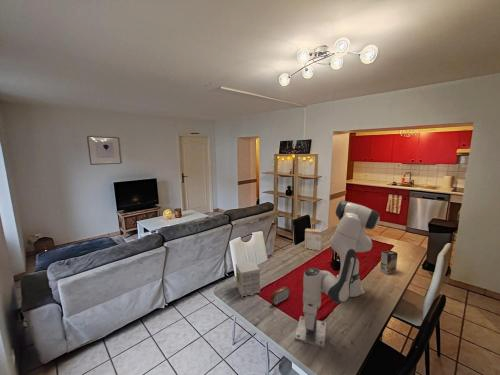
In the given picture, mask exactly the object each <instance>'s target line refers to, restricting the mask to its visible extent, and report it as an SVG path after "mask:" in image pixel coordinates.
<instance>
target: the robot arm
mask: <svg viewBox="0 0 500 375" xmlns="http://www.w3.org/2000/svg"><path fill="white" fill-rule="evenodd" d="M335 216H336V217H337V218H338V221H339V222H338V223H337V226H336V229H335V231H334V233H333V234H332V236H331V237H330V239H329V245H330V247H331V249H332V250H333V251H334V252H336V253H337V255H338V257H339V259H340V260H339V261H340V268H339V271H338V272H339V273H338V274H337V275H336V276H335V275H334V274H333V273H332V272H330V271H328V270H325V269H323V270H320V269H319V268H317V267H308V268H307V269H306V270H305V271H304V273H303V281H302V286H303V291H302V305H303V306H302V312H303V313H304V314H303V315H304V316H303V317H304V319H305V327H306V328H307V329H310V330H313V328H314V321H315V316H317V314H318V312H319V309H320V307H321V306H322V293H324V294H325V295H327V296H328V297H329V299H330V300H331V301H332V302H333V303H336V304H342V303H345V302H347V301H348V300H349V297H350V298H351V297H352V298H353V297H359V296H360V295H364V294H365V291H364V289H363V287H362V280H361V279H360V272H359V269H360V261H359V259H358V258H357V253H364V252H365V253H366V252H369V251H371V249H372V248H373V240H372V239H371V237H370V236H368V235H367V234H366V229H367V230H372V229H373V230H374V229H376V227H377V226H378V225H379V222H380V219H381V218H380V214H379V212H378V211H376V210H374V209H371V208H369V207H367V206H364V205H362V204H359V203H354V202H350V201H348V200H341V201H339V202H338V204H336V208H335Z"/></svg>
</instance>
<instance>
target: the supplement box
mask: <svg viewBox="0 0 500 375" xmlns="http://www.w3.org/2000/svg"><path fill="white" fill-rule="evenodd" d="M260 269H261V268H259V266H258V265H257V264H256V262H255V261H254V260H250V261H248V260H247V261H243V262H239V263H235V277H236V278H235V280H236V282H235V283H236V289H237V288H238V289H237V290H238V292H239V294H240V296H241V295H242V296H241V298H244V297H243V296H246V297H248V296H247V295H251V294H255V293H259V292H260V293H261V270H260ZM260 293H259V294H260ZM255 295H256V294H255ZM251 296H252V295H251Z"/></svg>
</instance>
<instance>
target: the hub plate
mask: <svg viewBox="0 0 500 375" xmlns="http://www.w3.org/2000/svg"><path fill="white" fill-rule="evenodd" d="M326 333H327V322H326V321H323V320H318V319H317V327H316V332H315V331H311V330H307V329H306V327H305V319H304V316H302V315H300V316H299V320H298V324H297V327H296V332H295V336H294V340H295V341H298V342H301V343H306V344H309V345H312V346H315V347H319V348H321V349H325V345H326V344H325V342H326Z"/></svg>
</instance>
